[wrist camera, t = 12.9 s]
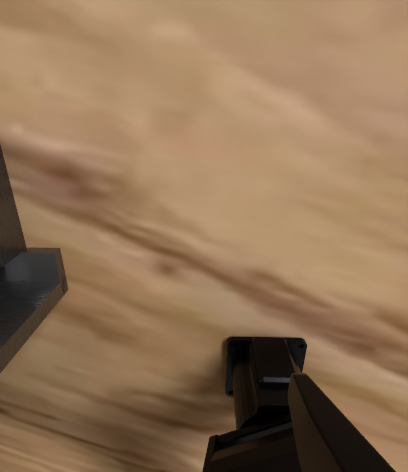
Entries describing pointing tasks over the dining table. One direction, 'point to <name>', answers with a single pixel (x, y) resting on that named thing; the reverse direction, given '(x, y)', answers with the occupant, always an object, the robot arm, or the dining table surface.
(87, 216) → the dining table surface
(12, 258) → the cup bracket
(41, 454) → the dining table surface
